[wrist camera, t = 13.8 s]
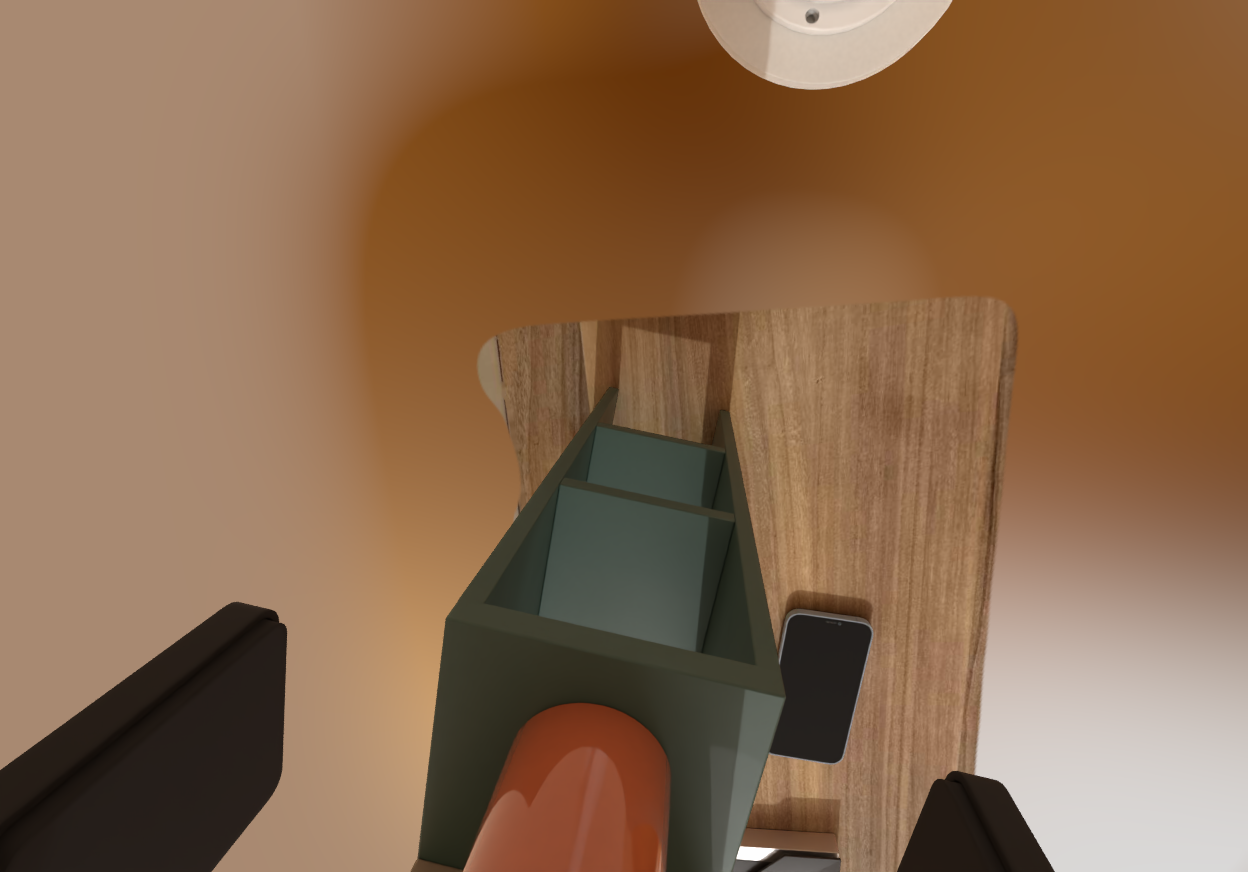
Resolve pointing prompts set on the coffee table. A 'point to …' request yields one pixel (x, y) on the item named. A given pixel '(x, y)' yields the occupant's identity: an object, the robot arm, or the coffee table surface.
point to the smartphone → (820, 683)
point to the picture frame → (787, 852)
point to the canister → (578, 797)
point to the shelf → (617, 636)
